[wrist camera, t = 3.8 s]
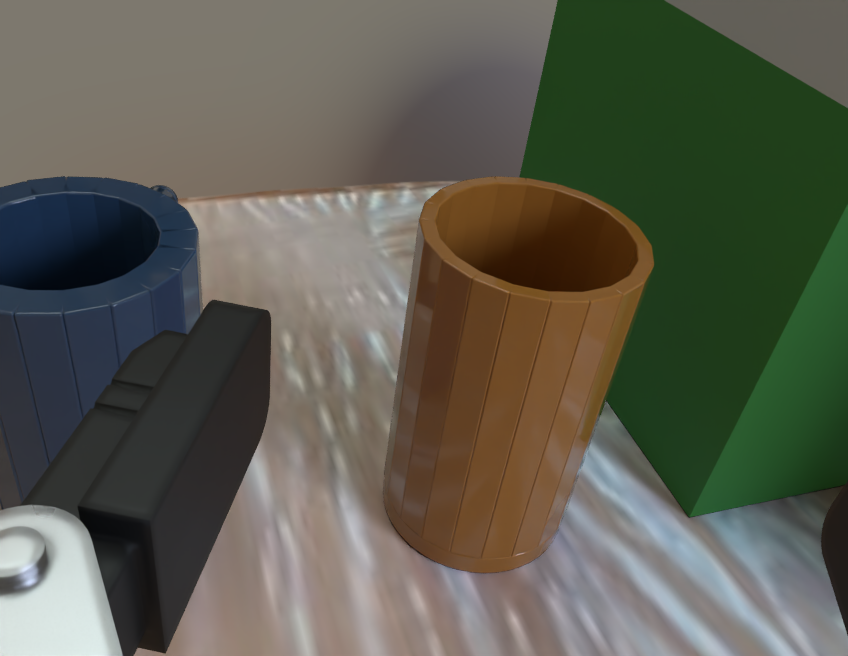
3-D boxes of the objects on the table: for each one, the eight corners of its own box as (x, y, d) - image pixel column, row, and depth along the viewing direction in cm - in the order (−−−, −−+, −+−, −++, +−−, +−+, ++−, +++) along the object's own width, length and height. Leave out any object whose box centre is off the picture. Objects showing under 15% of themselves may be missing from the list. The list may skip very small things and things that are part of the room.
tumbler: (502, 416, 32) (565, 166, 25) (596, 538, 28) (703, 276, 21) (354, 456, 29) (382, 189, 22) (433, 600, 25) (496, 322, 18)
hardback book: (503, 253, 42) (631, -340, 27) (625, 243, 44) (803, -307, 29) (689, 517, 29) (1123, -341, 14) (847, 484, 31) (1357, -281, 17)
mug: (165, 597, 24) (132, 337, 18) (-46, 554, 24) (-150, 283, 18) (263, 389, 31) (263, 157, 25) (101, 358, 32) (63, 120, 26)
